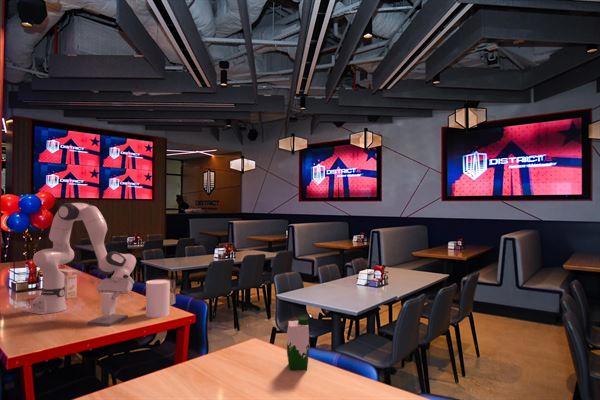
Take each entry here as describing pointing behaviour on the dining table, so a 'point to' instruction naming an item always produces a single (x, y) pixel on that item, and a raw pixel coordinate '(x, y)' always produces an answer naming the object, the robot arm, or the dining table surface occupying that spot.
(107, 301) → the white post
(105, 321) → the slate board
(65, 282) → the coffeecake box
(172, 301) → the coffee box
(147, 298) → the canister
